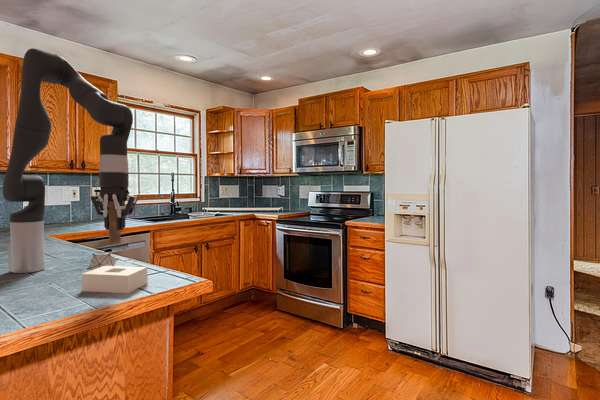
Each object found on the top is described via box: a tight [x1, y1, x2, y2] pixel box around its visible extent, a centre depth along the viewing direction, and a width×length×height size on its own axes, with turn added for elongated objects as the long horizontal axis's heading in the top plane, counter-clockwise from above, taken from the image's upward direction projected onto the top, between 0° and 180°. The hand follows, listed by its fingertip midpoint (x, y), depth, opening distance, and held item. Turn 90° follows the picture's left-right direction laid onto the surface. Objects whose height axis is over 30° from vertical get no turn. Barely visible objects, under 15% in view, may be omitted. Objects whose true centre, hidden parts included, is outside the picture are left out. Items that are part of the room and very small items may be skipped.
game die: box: [86, 250, 119, 271], centre depth 114 cm, size 9×8×10 cm
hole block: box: [81, 265, 149, 294], centre depth 102 cm, size 14×10×5 cm
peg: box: [108, 201, 122, 244], centre depth 101 cm, size 3×3×12 cm
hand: (115, 229), depth 102 cm, fingers closed on peg, 3 cm apart
